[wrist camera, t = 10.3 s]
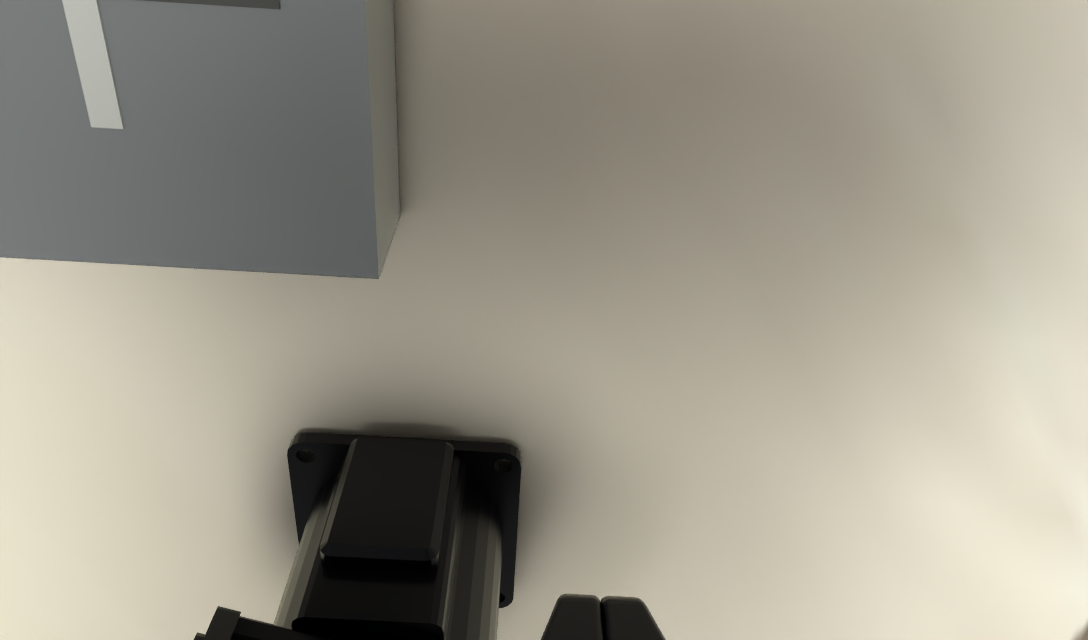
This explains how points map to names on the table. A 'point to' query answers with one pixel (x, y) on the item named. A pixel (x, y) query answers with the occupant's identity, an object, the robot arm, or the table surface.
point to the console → (200, 134)
